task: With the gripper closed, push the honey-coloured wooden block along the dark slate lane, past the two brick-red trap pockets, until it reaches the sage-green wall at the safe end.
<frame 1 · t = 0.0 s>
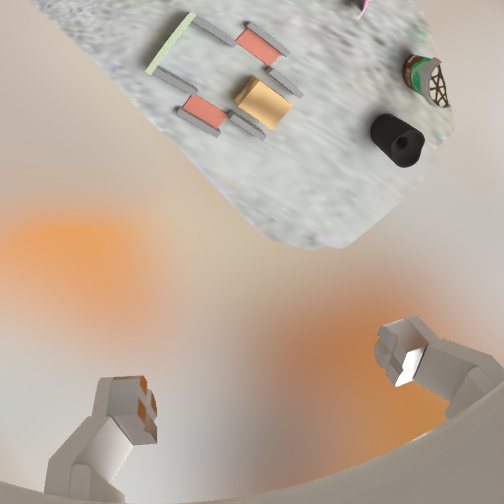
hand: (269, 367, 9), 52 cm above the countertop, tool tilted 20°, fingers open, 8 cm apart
honey block: (259, 98, 52), on the countertop
pen holder: (384, 129, 62), on the countertop
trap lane: (226, 75, 48), on the countertop
food container: (408, 75, 52), on the countertop
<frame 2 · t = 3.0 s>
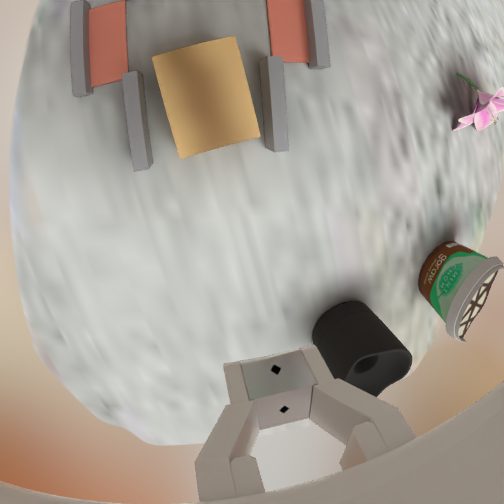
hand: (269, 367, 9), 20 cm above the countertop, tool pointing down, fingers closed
honey block: (203, 99, 23), on the countertop
lily: (461, 104, 27), on the countertop
pen holder: (341, 326, 38), on the countertop
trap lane: (197, 16, 19), on the countertop
food container: (429, 267, 37), on the countertop
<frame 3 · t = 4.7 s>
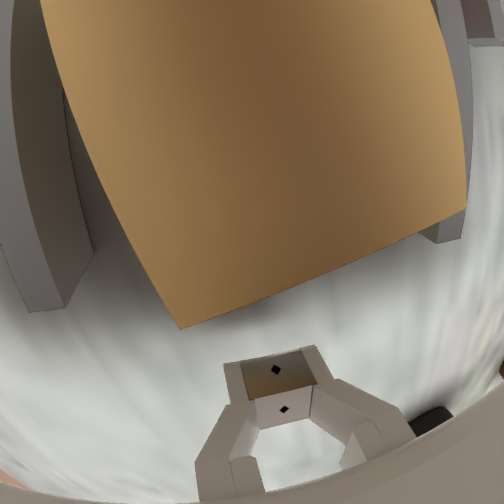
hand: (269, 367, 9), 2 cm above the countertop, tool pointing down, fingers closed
honey block: (230, 67, 7), on the countertop
pen holder: (409, 433, 22), on the countertop
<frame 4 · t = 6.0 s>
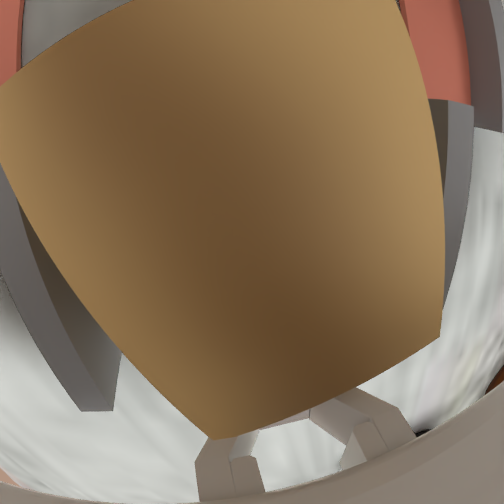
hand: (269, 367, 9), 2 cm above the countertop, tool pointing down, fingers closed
honey block: (233, 181, 9), on the countertop, touching gripper
food container: (501, 370, 23), on the countertop
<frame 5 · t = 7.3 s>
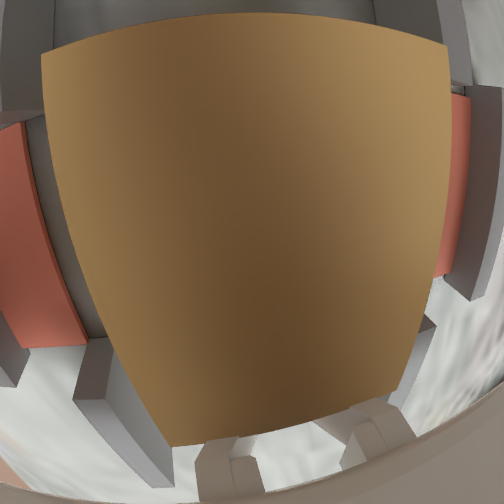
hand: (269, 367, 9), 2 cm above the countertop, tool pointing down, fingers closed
honey block: (239, 202, 9), on the countertop, touching gripper
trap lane: (236, 177, 9), on the countertop
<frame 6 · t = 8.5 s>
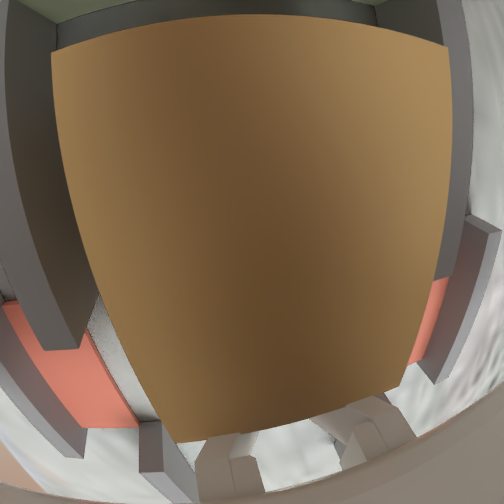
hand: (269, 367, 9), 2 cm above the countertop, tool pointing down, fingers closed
honey block: (242, 200, 9), on the countertop, touching gripper
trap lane: (253, 334, 11), on the countertop
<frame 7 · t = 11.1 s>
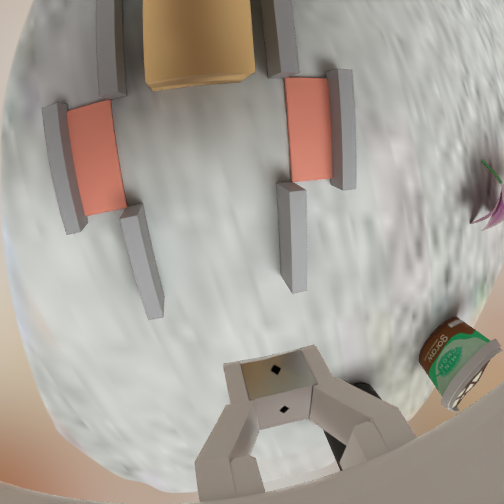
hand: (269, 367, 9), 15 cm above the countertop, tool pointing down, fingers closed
honey block: (193, 35, 17), on the countertop
lily: (481, 192, 28), on the countertop
pen holder: (344, 401, 37), on the countertop
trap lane: (202, 124, 19), on the countertop
food container: (430, 343, 37), on the countertop
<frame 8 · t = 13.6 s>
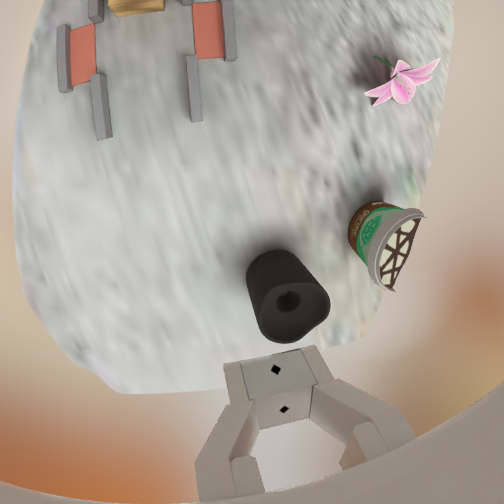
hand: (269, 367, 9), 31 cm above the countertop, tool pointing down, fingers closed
lily: (381, 82, 35), on the countertop
pen holder: (273, 274, 45), on the countertop
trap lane: (143, 31, 27), on the countertop
food container: (358, 225, 45), on the countertop
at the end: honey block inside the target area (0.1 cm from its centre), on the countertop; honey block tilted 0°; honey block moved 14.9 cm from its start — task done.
